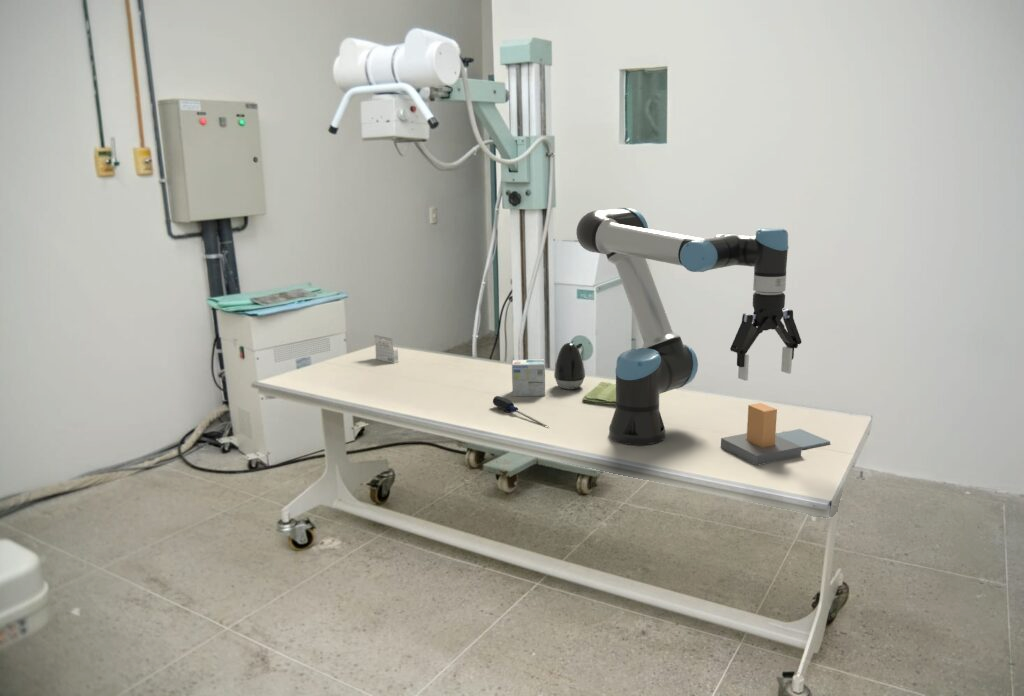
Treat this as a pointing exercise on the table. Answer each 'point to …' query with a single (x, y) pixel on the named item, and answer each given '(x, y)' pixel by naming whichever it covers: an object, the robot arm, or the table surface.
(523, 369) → the light bulb box
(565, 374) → the pump dispenser
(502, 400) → the screwdriver
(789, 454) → the gray slotted square plate
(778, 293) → the robot arm
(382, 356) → the ink cartridge box
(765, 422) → the plug
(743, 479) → the table surface
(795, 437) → the rubber mat
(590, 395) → the washcloth
